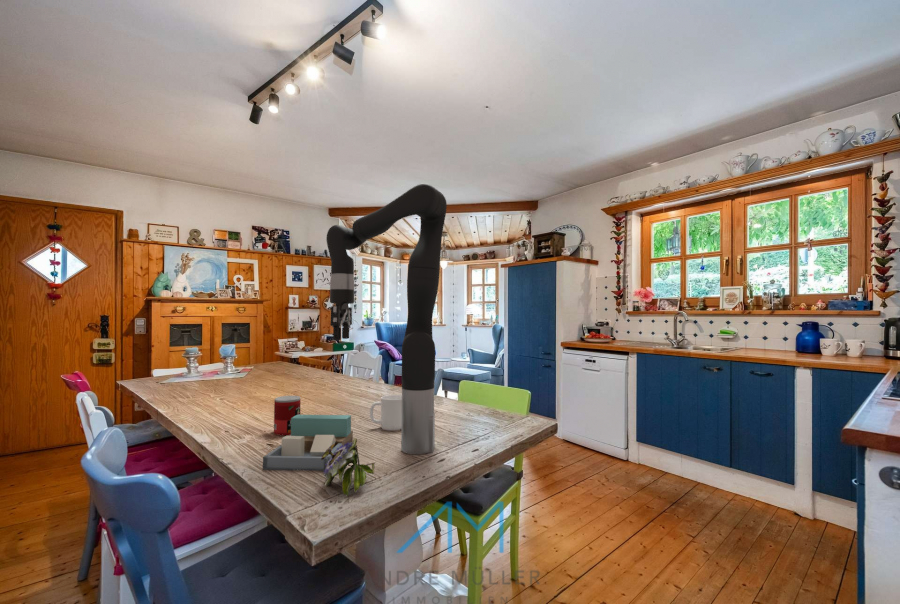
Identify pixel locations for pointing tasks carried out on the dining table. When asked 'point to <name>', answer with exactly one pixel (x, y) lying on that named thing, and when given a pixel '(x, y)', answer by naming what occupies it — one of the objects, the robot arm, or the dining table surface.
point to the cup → (389, 412)
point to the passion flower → (340, 462)
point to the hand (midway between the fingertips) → (341, 339)
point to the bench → (342, 440)
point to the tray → (295, 461)
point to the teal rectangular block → (321, 425)
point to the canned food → (285, 413)
